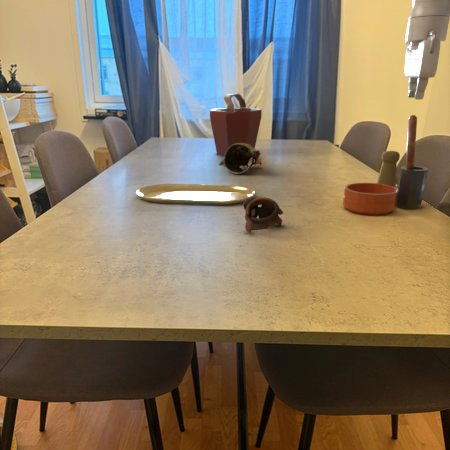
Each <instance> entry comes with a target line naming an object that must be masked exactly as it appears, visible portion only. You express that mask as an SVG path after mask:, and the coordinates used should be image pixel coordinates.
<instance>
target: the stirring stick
mask: <svg viewBox="0 0 450 450" xmlns="http://www.w3.org/2000/svg"><path fill="white" fill-rule="evenodd" d="M417 126H418V117H417V115H415V114H412V115H410V116H409V117H408V121H407V138H406V154H405V155H406V156H405V157H406V158H405V166H406V169H412V170H414V166H415V159H416V158H415V157H416V143H417V128H418V127H417Z"/></svg>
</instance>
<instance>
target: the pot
mask: <svg viewBox="0 0 450 450" xmlns="http://www.w3.org/2000/svg"><path fill="white" fill-rule="evenodd" d="M261 154H262V153H261V151H260V149H259V150H258V149H256V148H255V149H254V148H253V147H252V146H251V145H249V144H246V143H235V144H232V145H231V146H230V147H229V148H228V149H227V151H226V152H225V155H224V156H223V159H222V160H221V161H220V162H219V164H218V166H220V167H221V166H223V167H224V168H225V169H226V170H227V171H229V172H230V173H232V174H235V175H242V174H245V173H247V172H249V171H250V170H251V169H252V167H253V166H256V165H257V166H258V165H259V167H262V165H263V163H262V162H263V161H262V158H260V157H261ZM250 160H251V162H250ZM249 163H250V164H249ZM242 167H244V168H245V167H247V168H245V169H243V168H242Z"/></svg>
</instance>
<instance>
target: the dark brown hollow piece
mask: <svg viewBox="0 0 450 450" xmlns="http://www.w3.org/2000/svg"><path fill="white" fill-rule="evenodd" d="M242 203H243V204H242V206H243V210H244V212H245V213H244V219H245V221H246V223H245V225H244V229H245V231H246V232H247V233H248V234H251V233H252V231H253V232H254V231H261V230H268V228H272V227H273V226H274V225H278V227H280V228H281V227H282V224H283V219H282V217H280V216H281V215H283V214H284V211H283V210H282V209H281V208H280V206H279V204H278V203H277V202H276V200H274V199H272V198H270V197H266V196H265V197H257V198H255V199H252V198H251V199H247V200H246V201H244V202H242ZM279 215H280V216H279Z"/></svg>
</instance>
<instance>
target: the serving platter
mask: <svg viewBox="0 0 450 450" xmlns="http://www.w3.org/2000/svg"><path fill="white" fill-rule="evenodd" d="M255 193H256V192H255V190H254V189H252V188H249V187H245V186H240V185H232V184H231V185H230V184H226V185H225V184H197V183H196V184H193V183H161V184H153V185H147V186H143V187H140V188H139V189H137V190H136V192H135V194H136V196H137V197H138V198H140V199H141V200H143V201H147V202H150V203H159V204H185V205H186V204H190V205H218V206H219V205H220V206H224V205H227V206H228V205H236V204H241V203H244V201H246V200H247V199H252V198H253V197H254V196H255Z"/></svg>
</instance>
